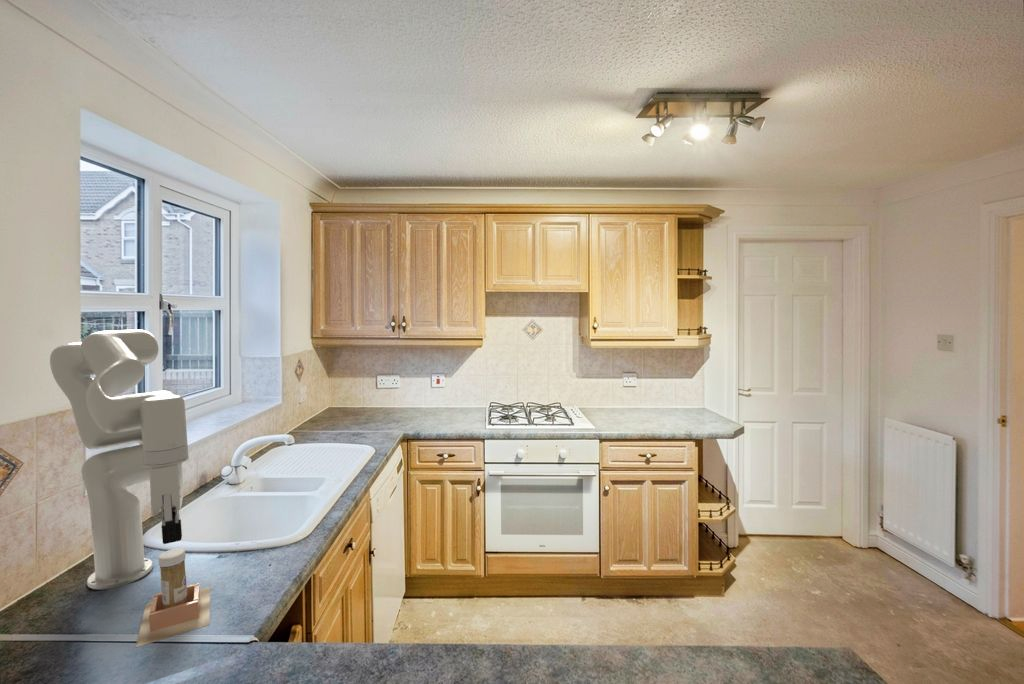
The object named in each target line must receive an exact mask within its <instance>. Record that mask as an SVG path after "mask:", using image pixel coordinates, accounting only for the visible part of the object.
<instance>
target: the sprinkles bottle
mask: <svg viewBox="0 0 1024 684" xmlns="http://www.w3.org/2000/svg"><path fill="white" fill-rule="evenodd" d="M185 561H186V551H185V549H184V548H172V549H168V550H166V551H164V552H162V553H161V554H159V556H158V565H159V568H160V570H159V571H160V587H161V593H162V603H163V609H167V608H170V607H174V606H178V605H181V604H185V603H187V586H188V585H187V576H186V562H185Z"/></svg>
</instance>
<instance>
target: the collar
mask: <svg viewBox="0 0 1024 684" xmlns="http://www.w3.org/2000/svg"><path fill="white" fill-rule="evenodd" d="M200 589H201V588H200V582H197V583H193V584H190V585H187V603H185V604H181V605H178V606H174V607H170V608H167V609H163V603H162V592H159V593H155V594H153V596H152V601H151V602H152V605H151V609H150V614H149V620H150V632H152V631H155V630H159V629H162V628H166V627H169V626H172V625H176V624H179V623H182V622H186V621H189V620H193V619H196V618H199V609H200Z"/></svg>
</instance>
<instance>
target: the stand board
mask: <svg viewBox="0 0 1024 684" xmlns="http://www.w3.org/2000/svg"><path fill="white" fill-rule="evenodd" d="M151 605H152V601H151V602H148V603H145V607H144V611H143V615H142V619H141V624H140V627H139V632H138V635H137V639H136V643H135V648H138V647H142V646H145V645H148V644H152V643H155V642H160V641H162V640H165V639H168V638H169V639H170V638H171V637H175V636H179V635H180V634H184V633H188V632H191V631H194V630H197V629H200V628H201V629H202V628H204V627H207V626H208V627H209V626H210V624H211V623H210V622H211V621H210V620H211V619H210V615H211V610H210V609H211V586H205V587H203V588H200V609H199V618H196V619H193V620H189V621H186V622H182V623H179V624H176V625H172V626H169V627H166V628H162V629H159V630H155V631H152V632H150V620H149V614H150V609H151Z"/></svg>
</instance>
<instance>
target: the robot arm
mask: <svg viewBox="0 0 1024 684" xmlns="http://www.w3.org/2000/svg"><path fill="white" fill-rule="evenodd" d="M158 354H159V344H158V341H157V339H156V337H155V336H154V335H153V334H152V333H151V332H149V331H148V330H144V329H121V330H120V329H119V330H118V329H117V330H101V331H97V332H92V333H90V334H88V335H87V336H85V337H84V338H83V339H82V341H77V342H71V343H66V344H61V345H60V346H57V347H55V348H54V349H53V350H52V351H51V353H50V357H49V366H50V370H51V374H52V375H53V379H54V380H55V382H56V384H57V386H58V387H59V388H60V390H61V391H62V392H63V394H64V395H65V396H66V398H67V399H68V401H69V403H70V405H71V409H72V412H73V417H74V421H75V425H76V428H77V431H78V434H79V437H80V440H81V442H82V445H83V446H84V447H85V448H86V449H88V450H103V449H108V448H115V447H119V446H125V445H128V444H129V445H130V444H135V443H137V445H132V446H126V447H122V448H117V449H112V450H107V451H103V452H100V453H96V454H94V455H92V456H90V457H88V459H86V460H85V461H84V462H83V464H82V466H81V476H82V477H81V478H82V480H83V481H82V482H83V484H84V486H85V490H86V493H87V498H88V505H89V513H90V515H89V516H90V524H91V526H90V527H91V539H92V548H93V549H92V551H93V561H94V572H93V573H91V574H90V575H89V576H88V577H87V581H86V583H87V587H88V588H90V589H92V590H99V591H100V590H109V589H113V588H116V587H121V586H124V585H128V584H130V583H133V582H136V581H138V580H140V579H141V578H143V577H145V576H146V575H147V574H149V573H150V572H151V571H152V569H153V567H154V566H153V563H154V562H153V560H152V559H150V558H145V550H144V549H145V546H144V534H143V533H144V532H143V521H142V505H141V501H140V499H139V498H138V496H136V495H135V493H134V494H133V493H132V492H130V491H128V490H127V488H129V487H131V486H134V485H138V484H139V485H140V484H142V483H145V482H146V483H147V482H149V488H150V489H149V490H150V491H149V492H150V511H151V512H150V513H151V517H153V518H155V517H156V516H158V515H159V514H160V515H161V538H162V544H163V545H167V544H171V543H175V542H180V541H181V540H182V537H183V533H182V532H183V531H182V530H183V529H182V520H181V518H180V511H181V509H182V505H183V498H184V497H183V496H184V474H183V463H184V462H187V461H188V460H189V448H188V447H189V446H188V445H189V444H188V434H187V419H186V418H187V416H186V404H185V399H184V398H183V397H182V396H181V395H177V394H174V393H173V392H171V391H168V390H156V391H148V392H140V393H132V394H131V393H130V394H124V395H120V394H122V393H124V392H126V391H128V390H130V389H132V388H134V387H135V386H137V385H138V384H139V383H140V382H141V381H142V380H143V379H144V377H145V374H146V366H148V365H150V364H151V363H153V362H154V361H155V360H156V358H157V357H158ZM92 375H93V376H95V377H92ZM117 395H118V396H117Z"/></svg>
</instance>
